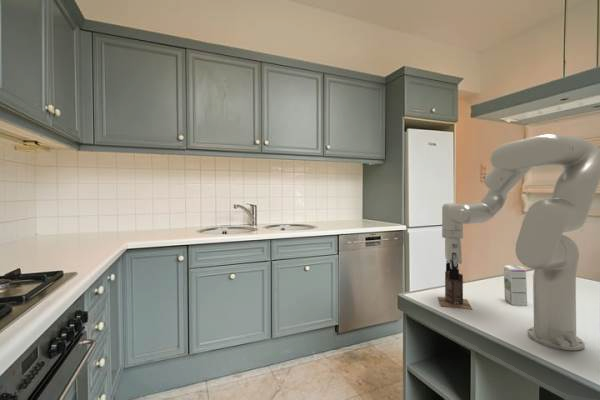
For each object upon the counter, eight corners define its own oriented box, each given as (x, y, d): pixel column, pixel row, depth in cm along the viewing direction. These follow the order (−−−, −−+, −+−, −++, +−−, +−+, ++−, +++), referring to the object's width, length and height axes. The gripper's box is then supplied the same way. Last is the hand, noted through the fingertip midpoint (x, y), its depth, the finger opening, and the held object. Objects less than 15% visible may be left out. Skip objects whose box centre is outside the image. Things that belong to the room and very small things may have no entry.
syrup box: (528, 305, 113) (527, 268, 113) (510, 305, 114) (510, 268, 114) (520, 300, 118) (519, 265, 118) (503, 300, 119) (503, 264, 119)
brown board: (472, 309, 110) (472, 308, 110) (440, 306, 114) (440, 305, 114) (466, 299, 121) (466, 299, 121) (437, 297, 124) (437, 296, 124)
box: (463, 304, 114) (463, 274, 114) (452, 305, 114) (452, 274, 114) (455, 299, 120) (454, 270, 120) (444, 300, 120) (444, 271, 120)
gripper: (467, 237, 108) (466, 283, 108) (459, 231, 124) (458, 271, 125) (444, 236, 110) (444, 281, 111) (439, 230, 127) (439, 269, 127)
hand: (452, 275), depth 118 cm, fingers open, 9 cm apart
